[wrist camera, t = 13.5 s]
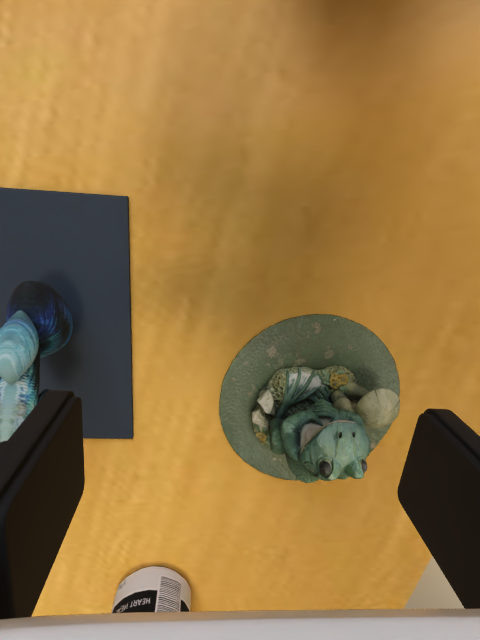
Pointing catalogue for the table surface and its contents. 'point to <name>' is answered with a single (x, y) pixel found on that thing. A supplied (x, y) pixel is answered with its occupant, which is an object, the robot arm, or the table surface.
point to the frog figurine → (310, 398)
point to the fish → (28, 348)
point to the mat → (77, 294)
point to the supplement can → (153, 592)
